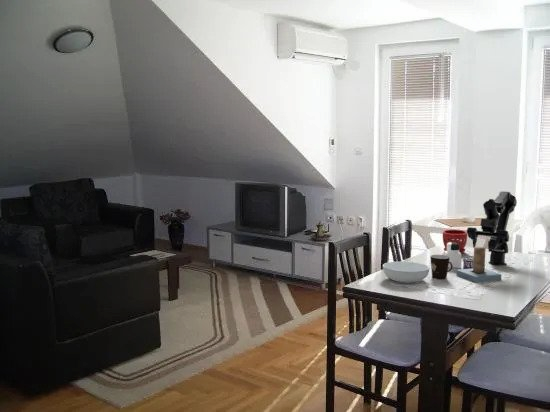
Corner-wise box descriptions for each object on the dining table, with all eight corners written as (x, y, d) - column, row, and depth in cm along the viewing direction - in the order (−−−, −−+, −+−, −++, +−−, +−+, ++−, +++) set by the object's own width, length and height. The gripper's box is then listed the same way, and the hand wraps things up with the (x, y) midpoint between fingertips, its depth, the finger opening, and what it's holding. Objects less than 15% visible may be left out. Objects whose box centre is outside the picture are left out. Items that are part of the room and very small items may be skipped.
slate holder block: (481, 272, 274) (481, 267, 274) (501, 279, 261) (501, 274, 261) (456, 275, 270) (456, 269, 270) (475, 282, 257) (475, 276, 257)
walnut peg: (479, 275, 269) (480, 246, 267) (486, 278, 264) (487, 248, 262) (470, 276, 267) (471, 247, 265) (477, 279, 262) (478, 249, 261)
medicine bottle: (458, 264, 291) (458, 241, 290) (461, 268, 284) (462, 244, 282) (443, 264, 292) (444, 241, 290) (446, 267, 285) (447, 244, 283)
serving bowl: (439, 282, 257) (439, 267, 256) (404, 289, 246) (405, 273, 245) (406, 273, 275) (406, 259, 274) (372, 278, 264) (373, 264, 263)
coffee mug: (427, 275, 270) (428, 254, 268) (445, 275, 270) (446, 254, 268) (434, 281, 258) (435, 260, 257) (453, 281, 258) (454, 260, 257)
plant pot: (440, 249, 328) (440, 229, 326) (463, 250, 327) (464, 229, 325) (444, 254, 315) (445, 233, 313) (468, 255, 314) (469, 233, 312)
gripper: (468, 210, 277) (460, 236, 269) (509, 213, 266) (501, 240, 258) (473, 224, 284) (465, 250, 276) (512, 228, 273) (505, 254, 266)
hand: (483, 248), depth 269 cm, fingers open, 9 cm apart
